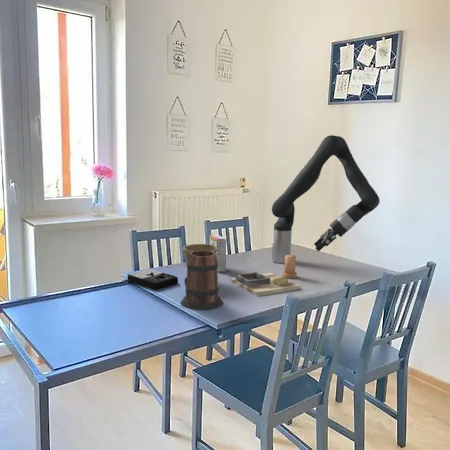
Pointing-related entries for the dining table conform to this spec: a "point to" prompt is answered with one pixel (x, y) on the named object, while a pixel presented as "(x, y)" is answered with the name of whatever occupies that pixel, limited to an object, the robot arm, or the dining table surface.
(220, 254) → the candy bar box
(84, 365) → the dining table surface
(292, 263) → the orange flanged cylinder
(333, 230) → the robot arm
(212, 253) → the tankard
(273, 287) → the carrier plate
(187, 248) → the plant pot
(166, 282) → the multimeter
